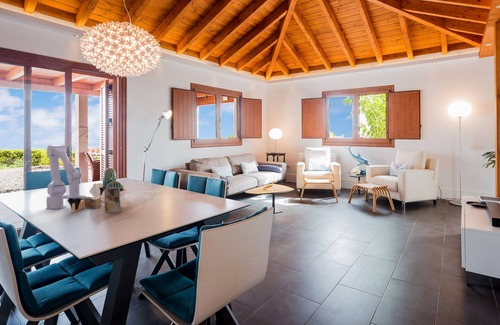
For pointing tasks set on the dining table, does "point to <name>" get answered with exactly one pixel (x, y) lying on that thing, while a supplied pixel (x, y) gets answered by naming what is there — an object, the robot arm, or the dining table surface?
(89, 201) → the wooden block
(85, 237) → the dining table surface
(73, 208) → the tall wooden plank
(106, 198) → the coffee box
